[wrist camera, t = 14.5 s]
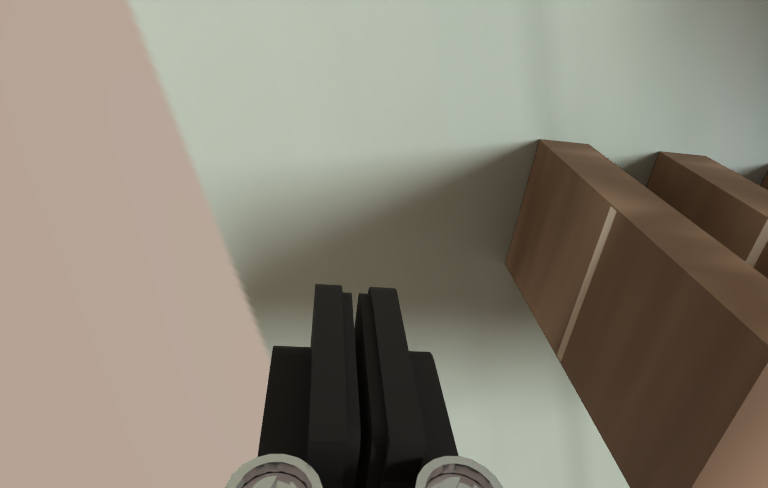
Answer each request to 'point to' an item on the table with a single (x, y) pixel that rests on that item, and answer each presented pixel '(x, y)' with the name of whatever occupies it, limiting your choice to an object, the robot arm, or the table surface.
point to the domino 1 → (646, 322)
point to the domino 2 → (716, 203)
